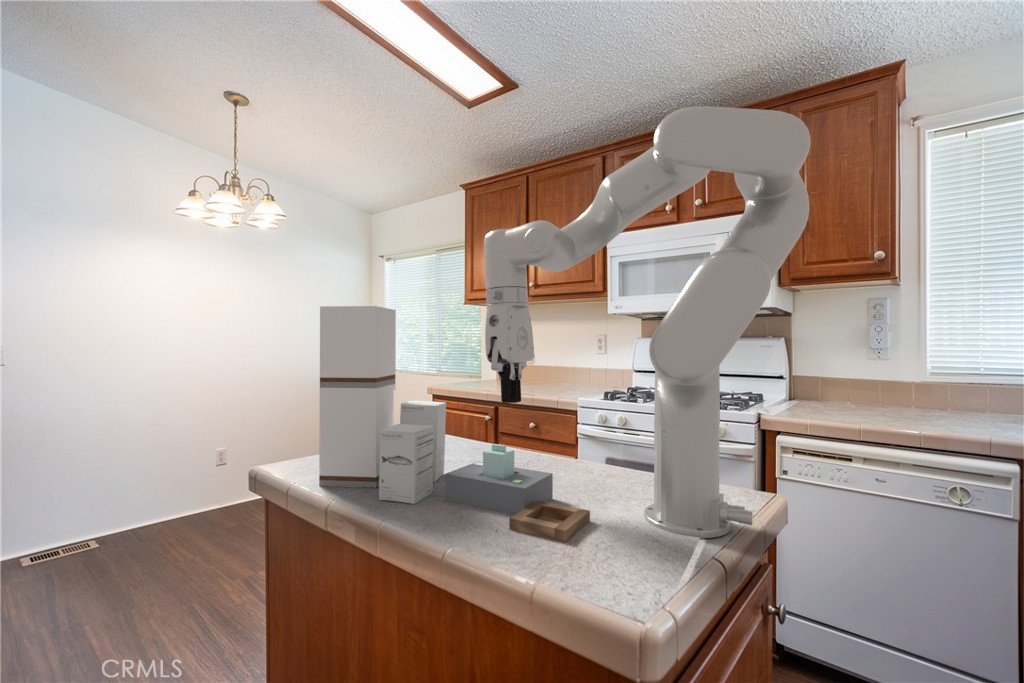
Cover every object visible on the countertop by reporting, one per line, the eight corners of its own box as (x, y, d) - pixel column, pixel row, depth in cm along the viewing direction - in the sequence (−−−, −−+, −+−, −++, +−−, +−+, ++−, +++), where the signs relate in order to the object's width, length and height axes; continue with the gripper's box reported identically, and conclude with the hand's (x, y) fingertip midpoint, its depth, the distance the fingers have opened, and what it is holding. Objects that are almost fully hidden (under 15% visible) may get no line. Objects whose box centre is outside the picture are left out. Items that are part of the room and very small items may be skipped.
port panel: (552, 501, 82) (552, 471, 82) (524, 520, 74) (524, 486, 74) (477, 487, 90) (477, 459, 90) (444, 502, 82) (445, 472, 82)
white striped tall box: (395, 472, 100) (395, 310, 101) (375, 487, 90) (376, 306, 90) (344, 471, 102) (344, 310, 102) (319, 486, 91) (320, 306, 91)
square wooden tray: (589, 525, 72) (590, 510, 72) (565, 546, 64) (565, 530, 64) (537, 513, 76) (537, 500, 76) (509, 533, 69) (509, 518, 69)
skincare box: (397, 480, 95) (397, 403, 95) (408, 471, 101) (409, 399, 101) (437, 482, 94) (437, 404, 94) (446, 473, 100) (446, 400, 100)
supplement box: (377, 501, 83) (377, 429, 83) (399, 488, 90) (399, 422, 90) (414, 505, 80) (415, 431, 80) (434, 492, 87) (434, 424, 87)
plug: (514, 495, 83) (514, 444, 83) (502, 501, 79) (502, 448, 79) (494, 491, 85) (495, 441, 85) (482, 498, 81) (483, 446, 81)
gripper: (503, 294, 76) (508, 408, 75) (544, 301, 89) (548, 398, 88) (465, 298, 79) (470, 406, 79) (509, 304, 92) (513, 397, 92)
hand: (511, 402), depth 84 cm, fingers closed
